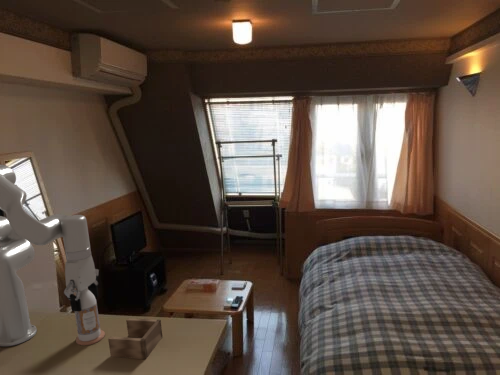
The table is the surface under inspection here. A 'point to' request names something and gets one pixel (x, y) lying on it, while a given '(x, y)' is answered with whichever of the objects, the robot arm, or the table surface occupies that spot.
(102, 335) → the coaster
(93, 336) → the bath foam
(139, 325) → the shelf bay
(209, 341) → the table surface
